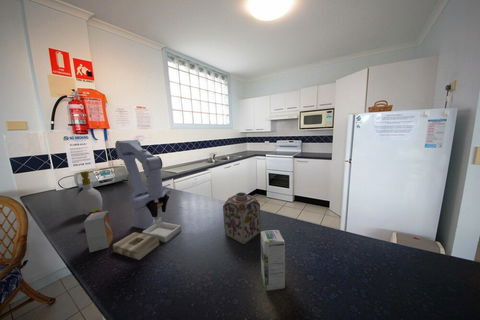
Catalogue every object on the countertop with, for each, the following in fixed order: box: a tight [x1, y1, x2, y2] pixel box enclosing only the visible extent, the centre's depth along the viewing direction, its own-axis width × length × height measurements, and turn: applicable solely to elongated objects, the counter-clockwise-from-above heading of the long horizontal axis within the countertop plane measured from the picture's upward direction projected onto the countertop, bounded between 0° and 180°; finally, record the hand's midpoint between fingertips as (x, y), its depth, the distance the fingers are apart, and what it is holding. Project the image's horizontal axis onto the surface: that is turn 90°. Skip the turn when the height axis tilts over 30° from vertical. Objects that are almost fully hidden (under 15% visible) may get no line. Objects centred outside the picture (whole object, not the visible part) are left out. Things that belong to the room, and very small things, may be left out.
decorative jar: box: [222, 191, 262, 245], centre depth 73 cm, size 12×12×18 cm
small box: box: [83, 210, 114, 253], centre depth 70 cm, size 8×6×13 cm
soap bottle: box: [76, 170, 103, 216], centre depth 101 cm, size 14×9×26 cm, turn 79°
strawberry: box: [87, 207, 104, 218], centre depth 88 cm, size 6×8×10 cm
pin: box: [154, 200, 164, 224], centre depth 75 cm, size 4×4×9 cm
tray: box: [141, 221, 182, 243], centre depth 77 cm, size 13×9×2 cm
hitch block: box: [112, 232, 160, 261], centre depth 68 cm, size 14×9×3 cm, turn 68°
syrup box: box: [260, 229, 286, 292], centre depth 48 cm, size 6×6×14 cm
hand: (159, 214), depth 75 cm, fingers closed on pin, 4 cm apart
